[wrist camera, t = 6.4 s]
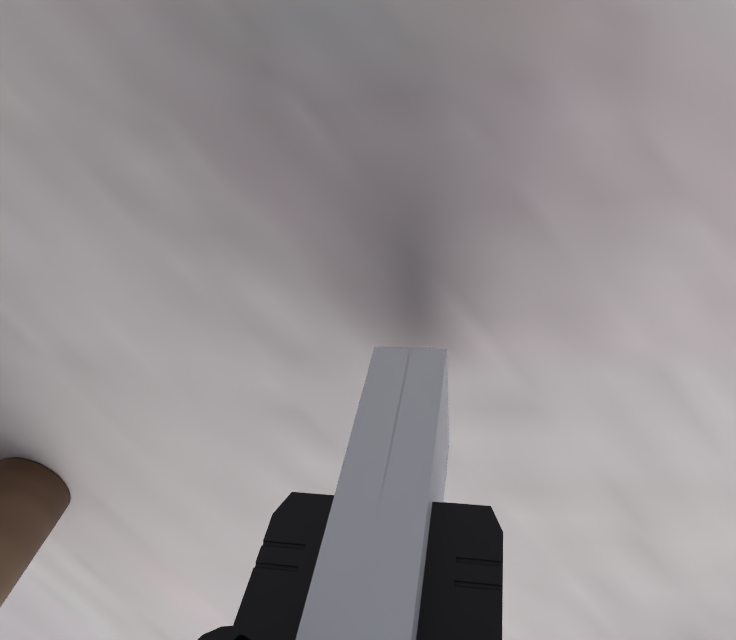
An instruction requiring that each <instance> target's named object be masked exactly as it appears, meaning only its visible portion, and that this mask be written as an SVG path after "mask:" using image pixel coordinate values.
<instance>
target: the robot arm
mask: <svg viewBox="0 0 736 640" xmlns="http://www.w3.org/2000/svg"><path fill="white" fill-rule="evenodd" d="M448 450H449V424H448V376H447V349H427V348H400V347H374V351H373V354H372V358H371V362H370V365H369V369H368V373H367V377H366V380H365V384H364V388H363V391H362V395H361V399H360V402H359V406H358V410H357V414H356V417H355V421H354V425H353V428H352V432H351V436H350V440H349V443H348V447H347V451H346V454H345V458H344V462H343V466H342V469H341V473H340V477H339V480H338V484H337V488H336V491H335V495H323V494H310V493H298V492H291V494H290V495H289V496H288V497H287V498H286V499H285V501H284V502H283V503H282V504H281V505H280V506H279V507H278V509H277V510H276V511H275V512H274V513H273V515H272V517H271V520H270V523H269V526H268V529H267V532H266V534H265V537H264V540H263V546H261V548H260V551H259V554H258V557H257V560H256V566H255V568H253V571H252V574H251V577H250V580H249V582H248V585H247V588H246V591H245V594H244V596H243V599H242V602H241V605H240V608H239V611H238V613H237V616H236V619H235V622H234V625H233V626H224V627H220V628H217V629H215V630H213V631H211V632H208V633H206V634H204V635H202V636H201V637H200V638H199V639H198V640H502V586H503V531H502V529H501V527H500V525H499V523H498V521H497V518H496V516H495V514H494V512H493V510H492V508H491V506H482V505H469V504H457V503H444V502H443V499H444V490H445V480H446V470H447V460H448Z"/></svg>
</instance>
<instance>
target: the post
mask: <svg viewBox="0 0 736 640" xmlns="http://www.w3.org/2000/svg"><path fill="white" fill-rule="evenodd" d="M69 503H70V493H69V491H68V489H67V487H66V485H65V484H64V483H63V481H62V480H61V479H60V478H59V477H58V476H57V475H56V474H54V473H53V472H52V471H50V470H49V469H47V468H45V467H44V466H42V465H40V464H38V463H35V462H33V461H29V460H26V459H20V458H8V459H4V460H1V461H0V607H1V605H2V604H3V602H4V601H5V599H6V598H7V596H8V595H9V593H10V592H11V590H12V589H13V587H14V586H15V584H16V583H17V581H18V580H19V578H20V577H21V575H22V574H23V573H24V571H25V570H26V568H27V567H28V565H29V564H30V562H31V561H32V559H33V558H34V556H35V555H36V553H37V552H38V550H39V549H40V547H41V546H42V544H43V543H44V541H45V540H46V538H47V537H48V535H49V534H50V532H51V531H52V529H53V528H54V526H55V525H56V523H57V522H58V520H59V519H60V517H61V516H62V514H63V513H64V511H65V510H66V508H67V507H68V505H69Z"/></svg>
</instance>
